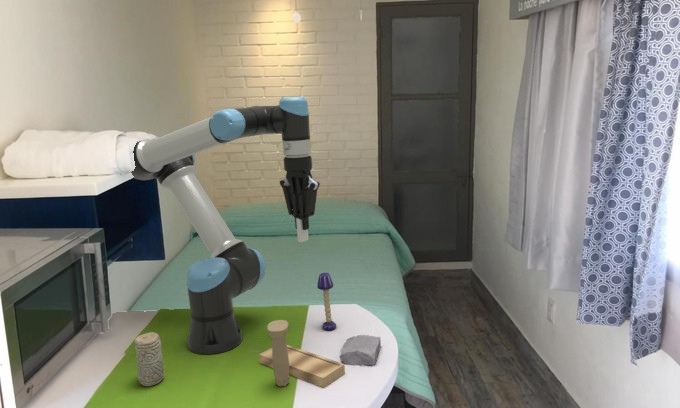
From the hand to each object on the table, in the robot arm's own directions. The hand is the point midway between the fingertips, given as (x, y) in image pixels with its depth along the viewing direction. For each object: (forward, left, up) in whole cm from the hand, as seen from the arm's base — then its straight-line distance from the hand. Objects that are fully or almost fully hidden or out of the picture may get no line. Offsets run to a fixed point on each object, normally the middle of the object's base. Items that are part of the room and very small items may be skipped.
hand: (303, 240), depth 155 cm
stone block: (+19, -1, -29) cm, 35 cm away
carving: (-16, -41, -29) cm, 52 cm away
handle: (+12, -23, -29) cm, 39 cm away
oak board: (+11, -15, -28) cm, 34 cm away
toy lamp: (+1, +7, -29) cm, 29 cm away
